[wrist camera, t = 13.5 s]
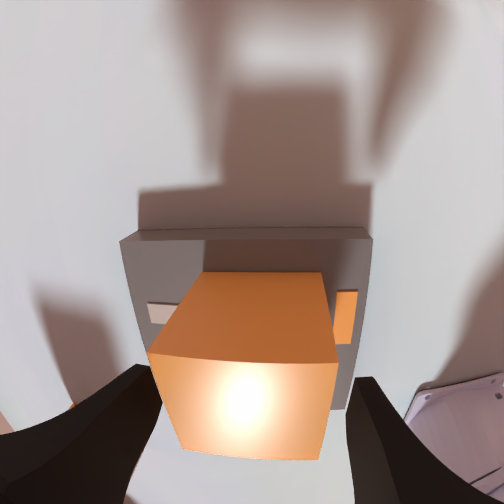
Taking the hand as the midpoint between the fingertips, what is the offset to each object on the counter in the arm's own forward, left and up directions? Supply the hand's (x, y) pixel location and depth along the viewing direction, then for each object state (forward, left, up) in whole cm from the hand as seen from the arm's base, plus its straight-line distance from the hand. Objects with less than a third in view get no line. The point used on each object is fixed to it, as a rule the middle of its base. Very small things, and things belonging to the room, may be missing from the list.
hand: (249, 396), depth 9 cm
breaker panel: (+1, +1, -7) cm, 7 cm away
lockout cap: (0, 0, -5) cm, 5 cm away
